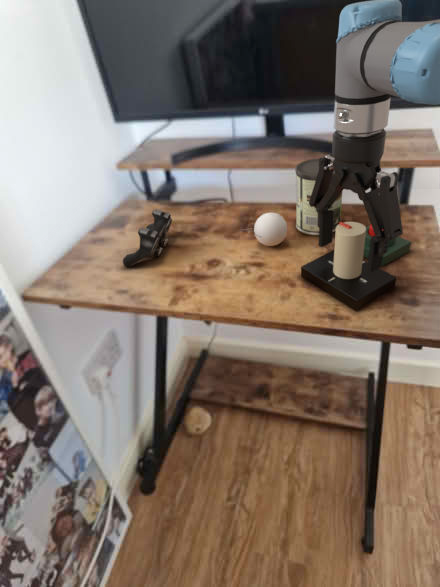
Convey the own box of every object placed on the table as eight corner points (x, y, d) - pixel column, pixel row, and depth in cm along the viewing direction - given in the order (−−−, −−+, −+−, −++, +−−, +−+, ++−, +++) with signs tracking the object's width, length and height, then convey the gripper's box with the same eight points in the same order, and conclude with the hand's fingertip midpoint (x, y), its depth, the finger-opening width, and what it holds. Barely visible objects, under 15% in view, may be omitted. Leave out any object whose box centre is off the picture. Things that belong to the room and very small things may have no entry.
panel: (395, 288, 73) (397, 276, 72) (356, 311, 69) (357, 299, 68) (337, 257, 83) (338, 246, 81) (300, 277, 79) (300, 265, 78)
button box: (409, 251, 82) (412, 233, 79) (382, 266, 79) (385, 248, 76) (370, 233, 89) (372, 217, 86) (344, 247, 86) (345, 230, 84)
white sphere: (290, 236, 92) (290, 206, 88) (284, 253, 87) (283, 223, 82) (248, 234, 95) (245, 205, 91) (240, 250, 90) (236, 221, 85)
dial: (367, 271, 74) (372, 226, 68) (347, 282, 72) (351, 237, 66) (346, 260, 77) (350, 217, 72) (327, 271, 76) (329, 227, 70)
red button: (391, 233, 81) (392, 226, 80) (379, 240, 80) (380, 232, 79) (376, 227, 84) (377, 220, 83) (364, 233, 82) (365, 226, 81)
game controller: (147, 280, 90) (159, 246, 83) (119, 267, 89) (128, 232, 83) (170, 242, 102) (182, 210, 95) (145, 231, 101) (155, 198, 95)
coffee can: (335, 212, 98) (339, 155, 90) (344, 233, 90) (349, 172, 82) (293, 216, 99) (292, 160, 91) (298, 237, 91) (298, 177, 83)
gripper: (287, 123, 66) (289, 239, 79) (411, 153, 50) (388, 293, 63) (321, 112, 69) (317, 226, 82) (449, 137, 53) (419, 274, 66)
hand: (348, 255), depth 73 cm, fingers open, 11 cm apart
